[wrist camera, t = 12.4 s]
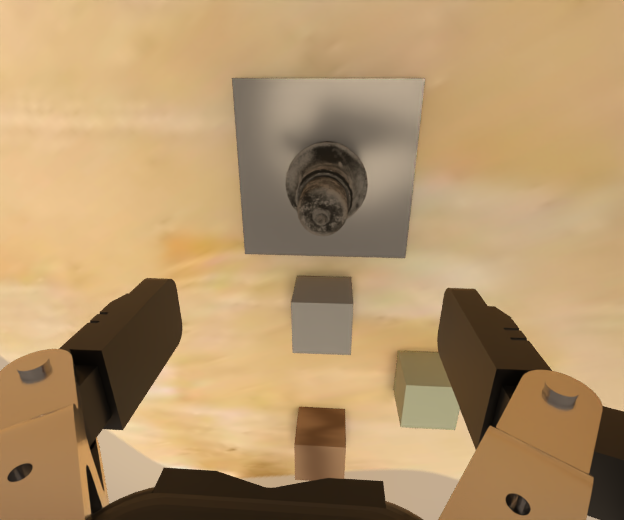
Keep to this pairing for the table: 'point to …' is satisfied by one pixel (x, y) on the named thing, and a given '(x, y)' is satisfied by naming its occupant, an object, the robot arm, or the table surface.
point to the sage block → (424, 392)
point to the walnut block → (320, 444)
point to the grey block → (322, 315)
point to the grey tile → (318, 128)
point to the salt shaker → (326, 186)
